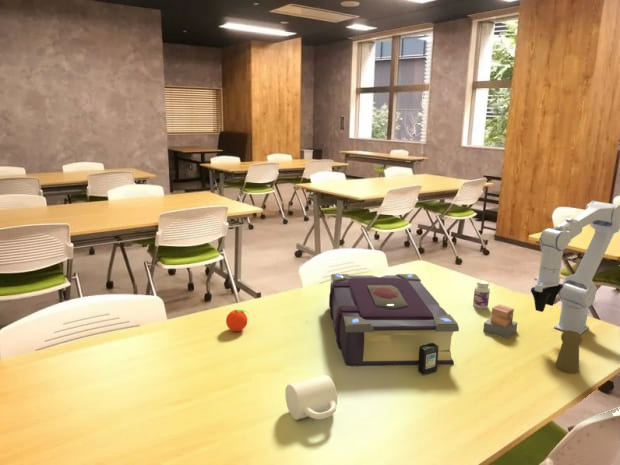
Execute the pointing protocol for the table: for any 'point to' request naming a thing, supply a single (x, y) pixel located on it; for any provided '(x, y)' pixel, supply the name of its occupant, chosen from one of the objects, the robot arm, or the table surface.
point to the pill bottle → (481, 295)
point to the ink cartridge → (428, 358)
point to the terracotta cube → (502, 315)
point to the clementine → (236, 320)
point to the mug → (312, 398)
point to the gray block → (500, 329)
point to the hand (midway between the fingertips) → (544, 307)
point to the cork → (569, 352)
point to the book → (387, 320)
